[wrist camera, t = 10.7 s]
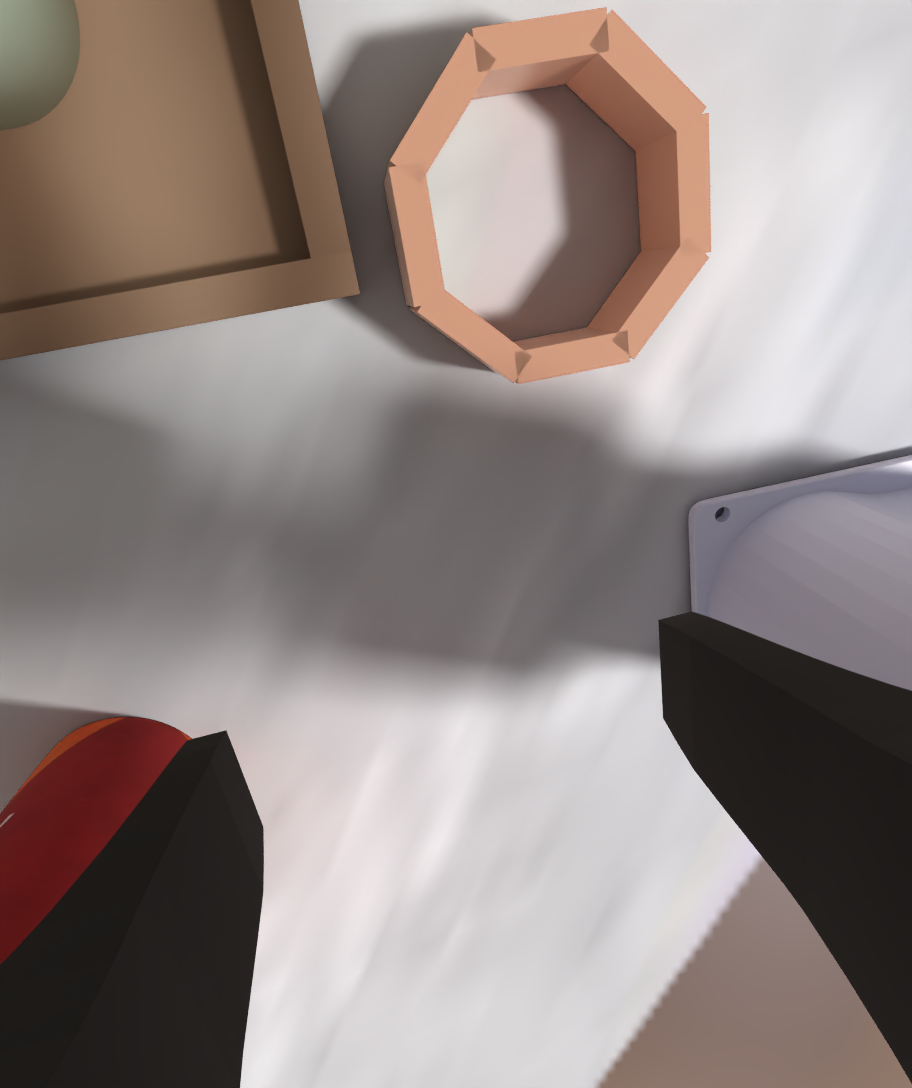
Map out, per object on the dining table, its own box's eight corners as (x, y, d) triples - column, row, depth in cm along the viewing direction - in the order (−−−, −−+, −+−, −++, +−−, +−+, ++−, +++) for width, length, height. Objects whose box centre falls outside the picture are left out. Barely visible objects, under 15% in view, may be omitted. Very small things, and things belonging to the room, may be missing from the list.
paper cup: (-37, 721, 21) (-689, 1447, 8) (207, 663, 21) (-19, 1251, 8) (65, 896, 24) (-281, 1631, 11) (277, 841, 24) (191, 1479, 11)
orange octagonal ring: (659, 31, 17) (706, -8, 14) (671, 339, 20) (712, 345, 17) (364, 78, 16) (366, 44, 14) (422, 388, 19) (431, 401, 17)
